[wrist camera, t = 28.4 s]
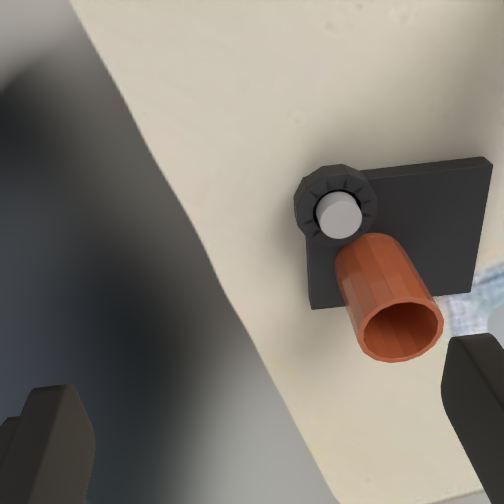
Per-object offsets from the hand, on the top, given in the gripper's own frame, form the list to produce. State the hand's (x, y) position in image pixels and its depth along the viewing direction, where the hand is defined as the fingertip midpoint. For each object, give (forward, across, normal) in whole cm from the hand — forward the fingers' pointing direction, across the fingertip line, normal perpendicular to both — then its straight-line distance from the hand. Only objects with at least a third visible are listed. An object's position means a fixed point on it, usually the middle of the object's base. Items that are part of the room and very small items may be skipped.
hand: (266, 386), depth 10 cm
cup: (+25, +10, -15) cm, 31 cm away
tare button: (+24, +7, -9) cm, 26 cm away
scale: (+27, +12, -14) cm, 32 cm away
